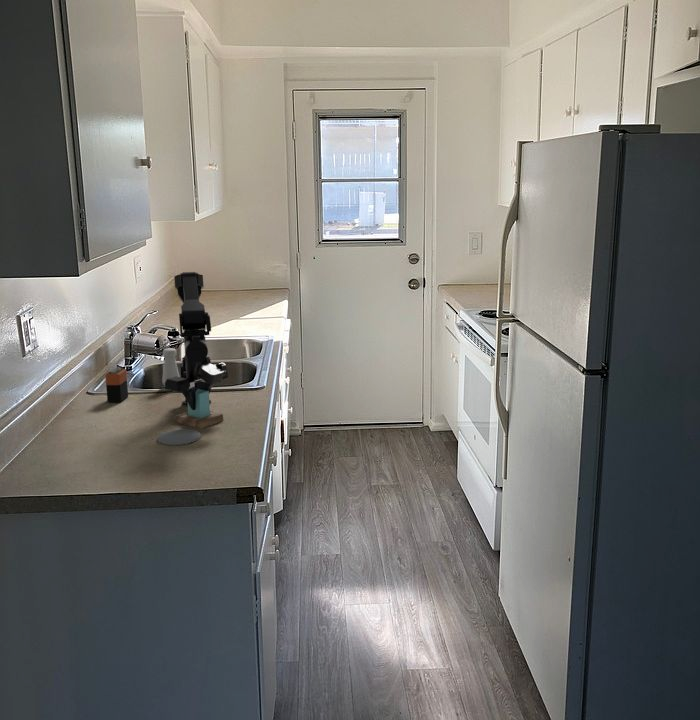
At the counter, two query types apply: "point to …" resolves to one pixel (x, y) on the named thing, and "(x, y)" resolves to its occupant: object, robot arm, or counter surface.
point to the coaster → (178, 437)
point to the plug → (200, 405)
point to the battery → (116, 385)
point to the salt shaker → (169, 364)
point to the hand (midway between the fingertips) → (198, 408)
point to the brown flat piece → (199, 419)
